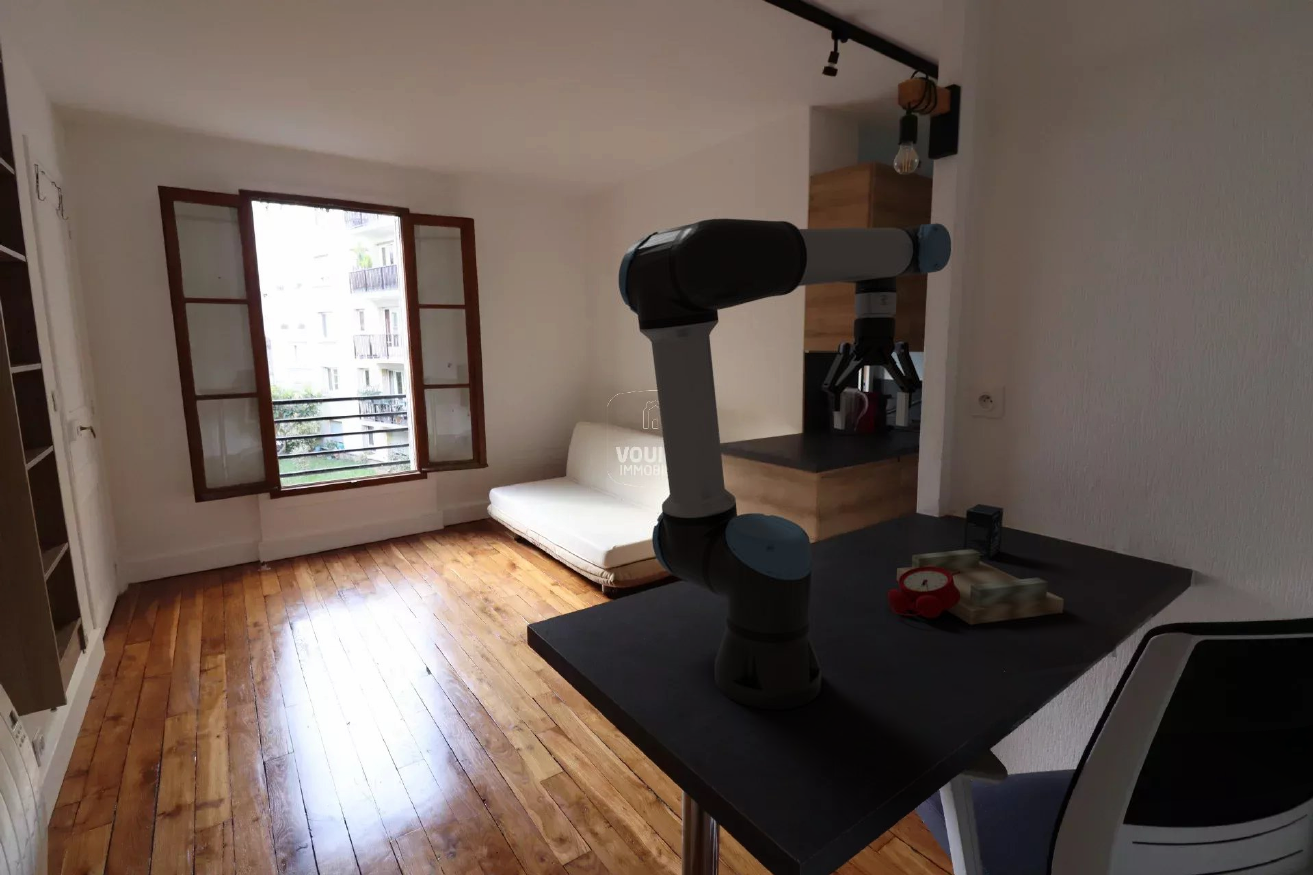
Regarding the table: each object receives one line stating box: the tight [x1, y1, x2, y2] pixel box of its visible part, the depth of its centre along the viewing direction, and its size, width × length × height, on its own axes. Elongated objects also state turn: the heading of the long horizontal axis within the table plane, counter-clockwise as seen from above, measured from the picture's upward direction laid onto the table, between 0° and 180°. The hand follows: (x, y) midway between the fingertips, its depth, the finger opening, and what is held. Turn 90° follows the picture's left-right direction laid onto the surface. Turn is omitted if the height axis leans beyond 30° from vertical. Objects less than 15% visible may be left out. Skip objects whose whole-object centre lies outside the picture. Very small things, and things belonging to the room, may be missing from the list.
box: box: [963, 503, 1004, 561], centre depth 140 cm, size 8×6×11 cm
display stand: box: [896, 549, 1065, 626], centre depth 116 cm, size 19×21×6 cm
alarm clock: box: [887, 566, 961, 619], centre depth 110 cm, size 10×6×15 cm
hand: (870, 427), depth 120 cm, fingers open, 13 cm apart
